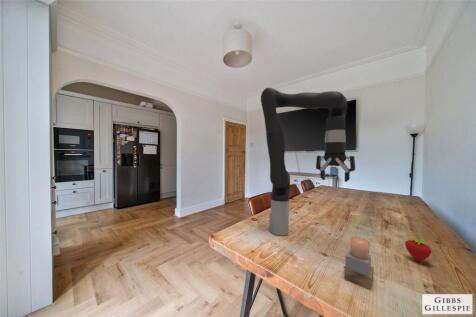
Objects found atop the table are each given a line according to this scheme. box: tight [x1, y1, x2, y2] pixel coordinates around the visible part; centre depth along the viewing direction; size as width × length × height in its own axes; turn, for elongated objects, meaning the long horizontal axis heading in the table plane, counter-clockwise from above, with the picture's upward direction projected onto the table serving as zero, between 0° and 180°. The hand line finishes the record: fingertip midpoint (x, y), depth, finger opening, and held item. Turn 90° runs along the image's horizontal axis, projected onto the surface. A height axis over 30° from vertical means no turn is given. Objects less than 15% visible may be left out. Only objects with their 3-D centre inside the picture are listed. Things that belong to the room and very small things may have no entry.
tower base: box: [343, 266, 375, 291], centre depth 58 cm, size 7×7×4 cm
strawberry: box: [404, 237, 432, 263], centre depth 68 cm, size 6×8×10 cm
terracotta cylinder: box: [349, 236, 370, 260], centre depth 58 cm, size 5×5×5 cm
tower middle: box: [344, 248, 372, 276], centre depth 58 cm, size 6×6×4 cm
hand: (334, 180), depth 74 cm, fingers open, 8 cm apart
